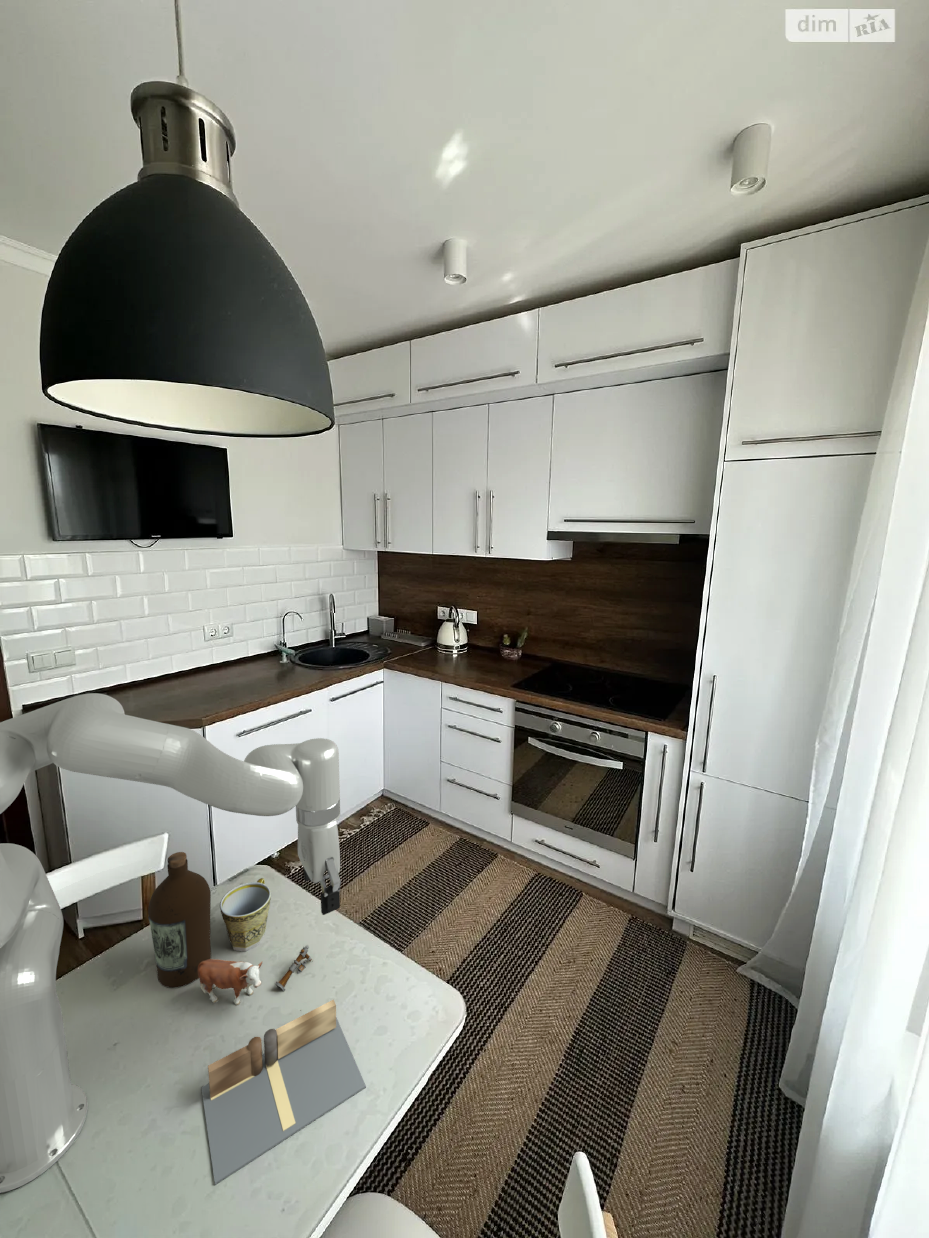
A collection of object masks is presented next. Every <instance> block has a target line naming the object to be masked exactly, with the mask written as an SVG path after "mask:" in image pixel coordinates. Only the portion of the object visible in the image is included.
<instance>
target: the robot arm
mask: <svg viewBox="0 0 929 1238" xmlns="http://www.w3.org/2000/svg"><path fill="white" fill-rule="evenodd" d="M339 756H340V755H339V747H338V745H337V744H336V743H335V742H334V741H333V740H331V739H328V738H324V737H323V738H321V737H320V738H319V737H317V738H310V739H307V740H305V741H302V742H297V743H284V744H281V743H277V744H267V745H262V746H259V747H256V748H254V749H253V750H251V751H250V752H248V754H247V755H246V756H245V758H244V760H241V759H238V758H237V757H236V758H235V757H234V756H231V755H229V754H227V753H226V752H224V751H222V750H221V749H219V748H218V747H217V746H215V745H214V744H212V743H211V742H210V741H209V740H208V739H206V737H204V736H203V735H202V734H200V733H198V732H197V731H195V730H193V729H192V728H189V727H184V726H180V725H174V724H169V723H164V722H160V721H155V720H152V719H146V718H142V717H137V716H133V715H129V714H125V710H124V707H123V705H122V704H121V703H120V701H118V700H117V699H116V698H114V697H112V696H110V695H108V694H104V693H96V692H95V693H92V692H91V693H90V692H89V693H85V694H78V695H75V696H72V697H68V698H66V699H62V700H61V701H57V702H54V703H51V704H49V705H46V706H43V707H40V708H37V709H35V710H32V711H28V712H27V713H23V714H20V715H18V716H15V717H12V718H9V719H6V720H4V721H0V815H1V814H2V813H3V812H5V811H6V810H7V809H8V807H10V806H11V804H12V803H13V802H14V801H15V800H16V798H17V797H18V796H19V795H20V792H21V790H22V788H23V786H24V784H25V783H26V781H27V778H28V776H29V774H30V773H32V772H34V771H37V770H39V769H41V768H44V767H46V766H50V765H51V764H54V765H55V766H56V767H58V768H61V769H63V770H66V771H69V772H72V773H73V772H74V773H77V774H86V775H92V776H96V777H98V776H99V777H105V778H110V779H111V778H112V779H118V780H124V781H125V780H126V781H132V782H137V783H138V782H139V783H143V784H152V785H156V786H163V787H166V788H170V789H173V790H175V791H176V792H178V793H180V794H182V795H185V796H187V797H188V798H191V799H194V800H197V802H198V801H199V802H201V803H203V804H205V805H208V806H211V807H213V808H216V809H218V810H222V811H227V812H231V813H233V814H235V813H236V814H242V815H249V816H259V817H274V816H275V817H276V816H280V815H283V814H285V813H287V812H290V811H292V810H293V809H295V817H296V818H295V819H296V821H295V822H296V823H297V856H298V858H299V861H300V863H301V866H302V868H303V879H304V881H305V882H308V881H311V882H312V883H313V884H317V883H320V887H321V891H322V892H321V893H320V912H321V915H323V916H324V915H327V914H329V913H331V912H335V911H337V910H338V909H340V907H341V900H340V899H341V896H340V895H341V893H340V891H341V883H342V881H341V879H340V876H339V873H340V869H341V851H340V840H339V829H338V822H337V821H338V820H339V818H340V816H341V794H340V793H341V789H340V787H341V785H340V757H339ZM326 871H327V874H325V872H326ZM328 879H329V880H330V884H329V885H328V886H327V883H326V881H325V880H328ZM63 931H64V916H63V912H62V909H61V906H60V904H59V901H58V899H57V897H56V895H55V893H54V890H53V888H52V885H51V883H50V881H49V878H48V876H47V873H46V871H45V869H44V867H43V865H42V863H41V861H40V859H39V858H38V857H37V855H36V854H35V853H34V852H33V851H31V850H30V849H29V848H27V847H25V846H22V845H19V844H15V843H0V1194H1V1193H6V1192H10V1191H12V1190H15V1189H18V1188H20V1187H23V1186H24V1185H26V1184H28V1183H30V1182H32V1181H33V1180H35V1179H36V1178H37V1177H39V1176H40V1175H42V1174H44V1173H45V1172H46V1171H48V1169H49V1168H51V1167H52V1166H53V1165H55V1163H56V1162H57V1161H59V1159H60V1158H61V1157H63V1155H64V1154H65V1153H66V1152H67V1151H68V1150H69V1148H70V1147H71V1146H72V1145H73V1144H74V1142H75V1140H76V1139H77V1137H78V1136H79V1134H80V1133H81V1131H82V1129H83V1127H84V1126H85V1125H84V1124H85V1121H86V1119H87V1115H88V1109H89V1108H88V1107H89V1105H88V1097H87V1093H86V1092H85V1091H84V1089H83V1088H82V1087H80V1086H78V1085H77V1084H74V1083H72V1079H71V1073H70V1072H71V1071H70V1064H69V1063H70V1062H69V1056H68V1047H67V1039H66V1031H65V1026H64V1019H63V1012H62V1011H63V1010H62V1006H61V1001H60V998H59V997H58V996H59V995H58V993H57V986H56V985H57V982H56V981H57V966H58V963H59V962H58V961H59V957H60V956H59V955H60V948H61V947H60V946H61V942H62V937H63Z"/></svg>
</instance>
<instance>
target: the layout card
mask: <svg viewBox="0 0 929 1238" xmlns="http://www.w3.org/2000/svg"><path fill="white" fill-rule="evenodd" d="M344 1034H345V1033H344V1032H343V1030H342V1028H341V1025H340V1023H339V1020H338V1017H336V1028H334V1029H332V1030H330V1031H329V1032H327V1033H325V1034H323V1035H321V1036H320V1037H318V1038H316V1039H314V1040H312V1041H311V1042H309V1043H307V1044H305V1045H303V1046H302V1047H300V1048H298V1049H296V1050H294V1051H292V1052H291V1053H289V1054H287V1055H285V1056H283V1057H282V1058H280V1059H277V1061H276V1063H275V1064H273V1065H271V1066H267V1065H266V1064H265V1054H264V1053H262V1063H263V1069H262V1071H261V1073H260V1074H259V1075H257V1076H250V1077H248V1078H246V1079H245V1080H243V1081H241V1082H239V1083H237V1084H236V1085H234V1086H232V1087H230V1088H228V1089H227V1090H225V1091H223V1092H221V1093H219V1094H218V1095H216V1096H214V1097H212V1098H211V1097H210V1089H209V1082H208V1083H206V1084H204V1085H203V1086H201V1087H200V1088H201V1096H202V1102H203V1108H204V1115H205V1122H206V1124H205V1125H206V1130H207V1131H206V1132H207V1138H208V1145H209V1151H210V1158H211V1159H210V1160H211V1166H212V1173H213V1180H214V1186H216V1185H217V1184H219V1183H221V1182H222V1181H225V1180H226V1179H227V1178H228V1177H230V1176H231V1175H233V1174H235V1173H236V1172H238V1171H239V1170H240V1169H242V1168H244V1167H245V1166H247V1165H248V1164H250V1163H252V1162H253V1161H255V1160H256V1159H258V1158H259V1157H261V1156H262V1155H264V1154H265V1153H267V1152H268V1151H270V1150H272V1149H273V1148H275V1147H276V1146H277V1145H279V1144H281V1143H282V1142H284V1141H285V1140H288V1139H289V1138H290V1137H292V1136H293V1135H295V1134H297V1133H298V1132H299V1131H301V1130H302V1129H304V1128H305V1127H307V1126H309V1125H310V1124H312V1123H313V1122H315V1121H317V1120H318V1119H320V1118H321V1117H323V1116H324V1115H325V1114H327V1113H329V1112H331V1111H332V1110H333V1109H335V1108H336V1107H338V1106H340V1105H341V1104H343V1103H344V1102H346V1101H347V1100H349V1099H351V1098H352V1097H354V1096H355V1095H357V1094H358V1093H359V1092H361V1091H363V1090H365V1089H366V1088H367V1086H366V1084H365V1081H364V1078H363V1075H362V1073H361V1071H360V1069H359V1067H358V1064H357V1062H356V1059H355V1058H354V1056H353V1052H352V1050H351V1048H350V1045H349V1043H348V1041H347V1039H346V1036H345V1035H344Z"/></svg>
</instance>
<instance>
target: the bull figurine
mask: <svg viewBox="0 0 929 1238" xmlns="http://www.w3.org/2000/svg"><path fill="white" fill-rule="evenodd" d="M262 965H263V961H260V962H259V963H258V965H253V964H252V963H250V962H248V961H246V962H245V961H242V960H240V961H235V960H226V959H225V960H223V959H218V958H217V959H215V958H211V959H208V960H205V961H202V962H201V963H200V964H199V965H198V976H199V978H198V979H199V982H200V983H199V985H200V989H201V990H202V992H203V994H206V993H208V995H209V1001H211V1002H212V1003H213V1004H216V1003H217V1002H218V1001H219V997H218V996H217V995H216V994H215V993H214V991H213V990H215V989H216V988H218V989H220V990H229V989H233V992H234V999H233V1001H232V1002H233V1003H234V1005H235V1006H239V1005H240V1004H241V1000H240V998H239V996H240V994H241V992H242V990H246V992H245V993H246V994H247V995H248V996H252V995H253V994H255V993H254V990H253V989H252V988H251V986H253V988H254V989H257V988H259V987H260V986H261V985H262V981H261V979H260V969H261V966H262Z"/></svg>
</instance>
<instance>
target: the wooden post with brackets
mask: <svg viewBox="0 0 929 1238" xmlns="http://www.w3.org/2000/svg"><path fill="white" fill-rule="evenodd" d="M308 952H309V945H308V944H307V945H305V946H303V947H302V948H301V950H300V951H299V954H298V956H297V957H296V958H295V959H294V960H293V962H291V965H290V966H289V967H288V970H287V972H285V974H284V975H283V976H282V977H281V978H280V980H278V981H277V980H276V981H275V982H274V984H275V985H276V986H277V987H280V989H281V990H282V991H283V992H285V991H286V988H285V987H286V985H287V982H288V981H289V980H290V978H291V976H292V974H294V973H295V971H296V970H297V971H296V973H297V975H299V974H301V973H303V971H304V969H305V968H306V965H307V963H308V962H311V961H313V959H312V957H311V956H310V955H309V954H308ZM303 960H304V961H303ZM301 961H303V962H301Z"/></svg>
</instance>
